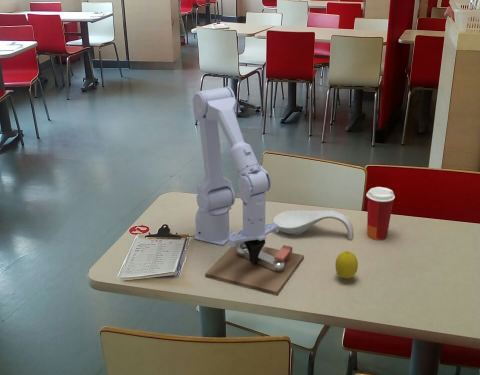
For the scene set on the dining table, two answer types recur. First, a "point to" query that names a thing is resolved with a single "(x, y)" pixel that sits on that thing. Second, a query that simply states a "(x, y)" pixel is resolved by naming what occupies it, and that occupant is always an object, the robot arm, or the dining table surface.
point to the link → (262, 258)
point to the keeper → (284, 253)
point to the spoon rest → (308, 220)
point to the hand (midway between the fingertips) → (253, 262)
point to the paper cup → (379, 212)
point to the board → (253, 271)
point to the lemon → (346, 264)
